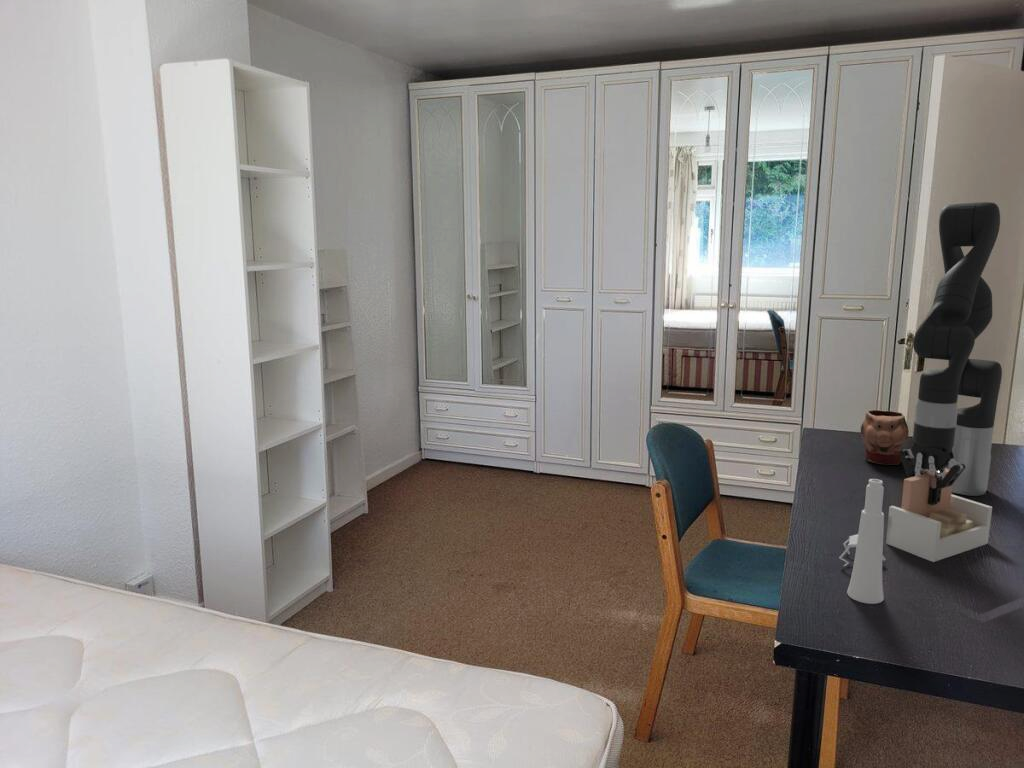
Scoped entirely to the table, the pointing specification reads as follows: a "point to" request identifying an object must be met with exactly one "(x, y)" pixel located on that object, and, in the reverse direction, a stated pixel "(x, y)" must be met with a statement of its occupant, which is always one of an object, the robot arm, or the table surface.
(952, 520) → the offcut small
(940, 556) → the rack
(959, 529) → the offcut mid
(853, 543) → the origami figure
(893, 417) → the decorative planter
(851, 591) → the cosmetic bottle
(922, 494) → the board
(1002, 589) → the table surface
